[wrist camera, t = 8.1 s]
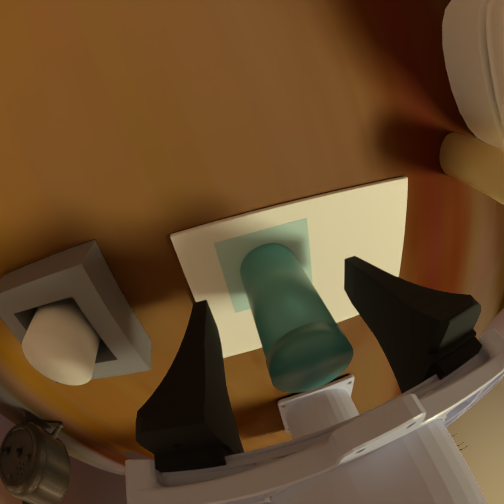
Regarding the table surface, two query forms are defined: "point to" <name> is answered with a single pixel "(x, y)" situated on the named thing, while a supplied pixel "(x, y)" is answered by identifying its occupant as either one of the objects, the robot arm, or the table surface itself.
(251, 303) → the teal marker
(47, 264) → the button box
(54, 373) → the button
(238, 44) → the table surface
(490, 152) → the ball
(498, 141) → the honey pot
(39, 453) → the alarm clock
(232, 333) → the paper sheet
